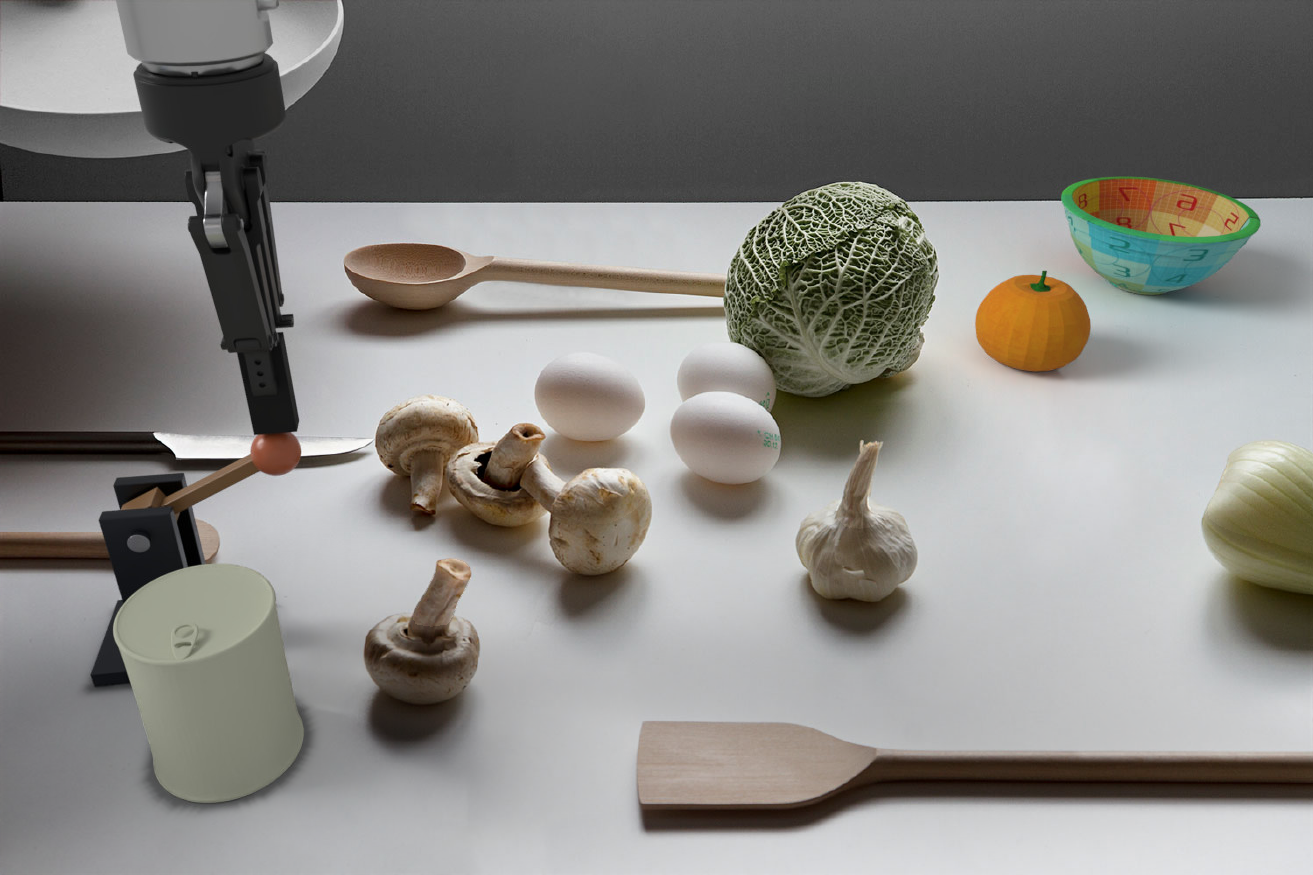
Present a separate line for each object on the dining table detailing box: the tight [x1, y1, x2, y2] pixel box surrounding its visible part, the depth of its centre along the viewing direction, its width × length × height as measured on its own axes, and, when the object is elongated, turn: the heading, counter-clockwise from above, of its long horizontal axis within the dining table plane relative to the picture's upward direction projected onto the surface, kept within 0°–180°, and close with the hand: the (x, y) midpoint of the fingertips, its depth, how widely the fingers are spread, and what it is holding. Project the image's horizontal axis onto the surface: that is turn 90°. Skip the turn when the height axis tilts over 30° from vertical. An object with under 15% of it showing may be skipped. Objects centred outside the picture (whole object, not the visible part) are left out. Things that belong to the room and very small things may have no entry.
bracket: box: [90, 472, 207, 688], centre depth 78 cm, size 10×8×13 cm
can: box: [113, 563, 305, 804], centre depth 70 cm, size 9×9×12 cm
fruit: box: [974, 270, 1092, 372], centre depth 120 cm, size 12×12×10 cm
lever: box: [121, 432, 302, 522], centre depth 76 cm, size 13×3×3 cm, turn 99°
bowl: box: [1060, 176, 1261, 296], centre depth 137 cm, size 22×22×10 cm
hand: (276, 427), depth 74 cm, fingers closed
